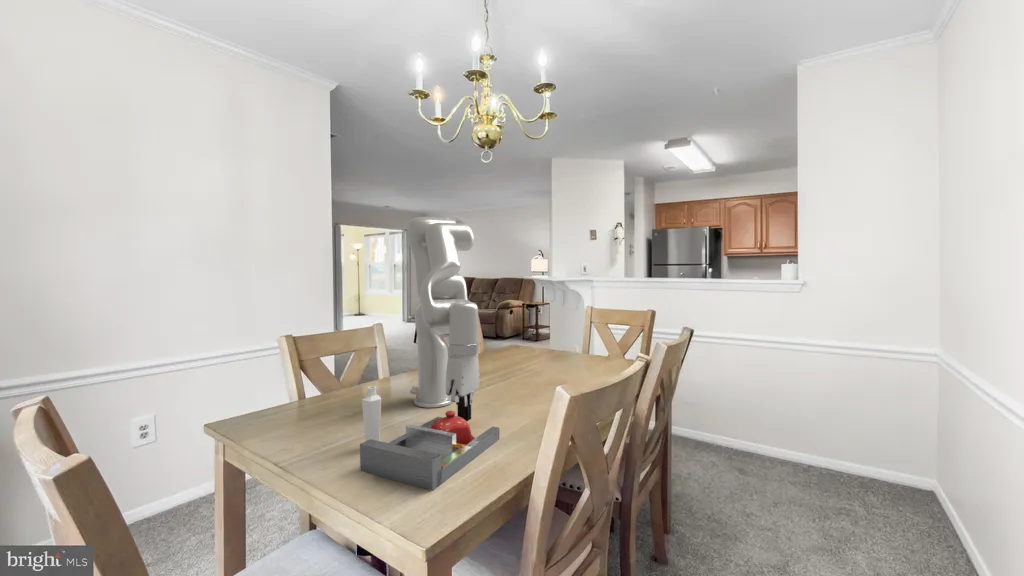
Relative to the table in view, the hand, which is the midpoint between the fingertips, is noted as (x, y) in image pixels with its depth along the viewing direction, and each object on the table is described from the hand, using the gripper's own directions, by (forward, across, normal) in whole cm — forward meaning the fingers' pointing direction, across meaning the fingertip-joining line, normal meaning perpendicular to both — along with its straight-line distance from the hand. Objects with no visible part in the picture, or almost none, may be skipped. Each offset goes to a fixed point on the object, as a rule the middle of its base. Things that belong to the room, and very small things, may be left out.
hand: (464, 419), depth 114 cm
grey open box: (+4, +12, 0) cm, 13 cm away
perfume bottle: (+4, +16, -16) cm, 23 cm away
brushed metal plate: (+4, +14, +1) cm, 15 cm away
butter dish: (+5, +6, 0) cm, 8 cm away
